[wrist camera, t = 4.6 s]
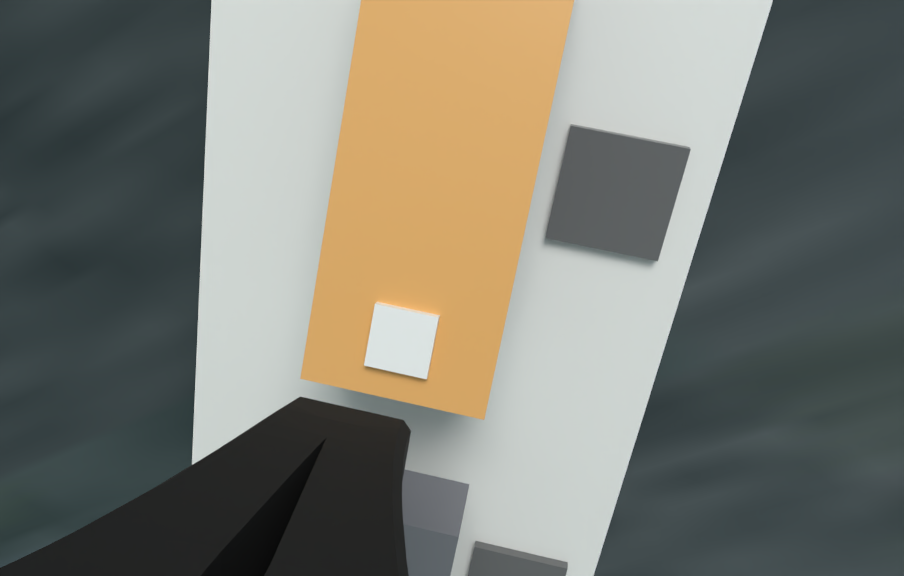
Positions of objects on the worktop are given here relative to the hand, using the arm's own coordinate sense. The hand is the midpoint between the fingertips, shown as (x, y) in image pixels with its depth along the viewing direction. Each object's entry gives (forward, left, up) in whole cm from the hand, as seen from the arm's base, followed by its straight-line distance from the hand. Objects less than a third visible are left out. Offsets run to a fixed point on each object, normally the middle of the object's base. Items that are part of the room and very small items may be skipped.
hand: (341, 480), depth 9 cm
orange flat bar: (0, -3, -4) cm, 5 cm away
